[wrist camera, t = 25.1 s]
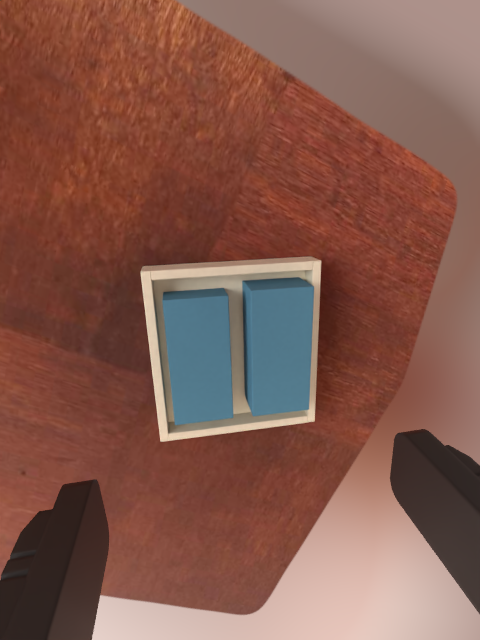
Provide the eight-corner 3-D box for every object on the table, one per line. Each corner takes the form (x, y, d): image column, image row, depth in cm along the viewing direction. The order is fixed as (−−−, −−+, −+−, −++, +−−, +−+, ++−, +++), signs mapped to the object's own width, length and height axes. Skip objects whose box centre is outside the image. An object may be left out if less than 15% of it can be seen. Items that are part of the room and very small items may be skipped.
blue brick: (223, 287, 33) (228, 295, 31) (229, 401, 37) (233, 418, 34) (163, 291, 33) (162, 300, 30) (174, 408, 36) (174, 425, 34)
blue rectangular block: (299, 276, 34) (314, 286, 31) (296, 389, 38) (309, 410, 34) (242, 280, 33) (250, 290, 30) (244, 395, 37) (252, 417, 34)
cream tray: (311, 256, 35) (321, 260, 32) (306, 408, 40) (315, 421, 37) (142, 266, 32) (140, 271, 30) (161, 426, 37) (160, 442, 35)
